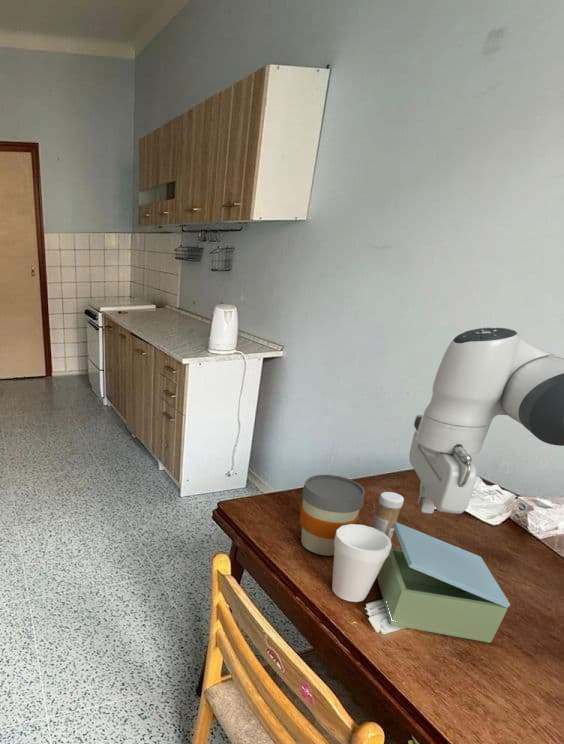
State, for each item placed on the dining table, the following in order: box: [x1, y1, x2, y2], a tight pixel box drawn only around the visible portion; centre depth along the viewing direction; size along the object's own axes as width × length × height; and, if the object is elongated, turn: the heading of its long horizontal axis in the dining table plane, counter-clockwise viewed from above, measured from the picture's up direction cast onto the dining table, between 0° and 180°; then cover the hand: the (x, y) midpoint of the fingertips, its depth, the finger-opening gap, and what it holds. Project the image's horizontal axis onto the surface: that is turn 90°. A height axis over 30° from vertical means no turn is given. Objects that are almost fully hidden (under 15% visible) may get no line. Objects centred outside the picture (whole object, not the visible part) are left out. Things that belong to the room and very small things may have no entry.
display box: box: [376, 547, 509, 644], centre depth 88 cm, size 16×14×8 cm
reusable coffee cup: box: [299, 474, 366, 556], centre depth 106 cm, size 13×13×15 cm
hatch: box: [393, 521, 511, 608], centre depth 85 cm, size 17×14×1 cm
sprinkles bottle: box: [371, 491, 405, 540], centre depth 104 cm, size 5×5×14 cm
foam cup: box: [331, 523, 393, 603], centre depth 92 cm, size 10×9×13 cm
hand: (424, 509), depth 82 cm, fingers closed
